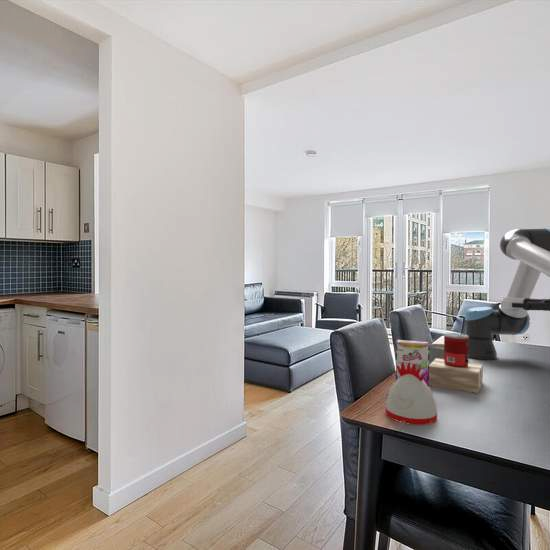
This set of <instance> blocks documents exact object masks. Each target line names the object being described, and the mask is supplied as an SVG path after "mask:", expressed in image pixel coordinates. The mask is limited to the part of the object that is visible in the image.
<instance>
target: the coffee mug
mask: <svg viewBox="0 0 550 550" xmlns="http://www.w3.org/2000/svg"><path fill="white" fill-rule="evenodd" d="M429 345H430V352H429V365H430V364H431V363H432V362H433V361H434V360H435V359H436V358H440V359H444V343H429Z"/></svg>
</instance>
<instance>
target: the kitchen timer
mask: <svg viewBox="0 0 550 550" xmlns="http://www.w3.org/2000/svg"><path fill="white" fill-rule="evenodd" d="M397 369H398V372H399V374H400V376H401V377H400V378H399V379H397V380H396V382H395V381H394V383H393V384H392V385H391V388H390V390H389V393H388V396H387V398H386V401H385V413H386V416H388V417H389V416H390V417H391V418H390V417H389V418H390V419H392V418H393V419H392V420H394V419H396V420H398V421H397V422H399V421H401V422H400V423H403V422H405V423H404V424H407V423H409V424H408V425H414V424H415V425H417V426H419V425H420V426H423V425H430V424H434V422H436V421H437V419H438V410H437V409H438V408H437V405H436V402H435V398H434V395H433V392H432V391H431V389H430V386H429V387H428V386H427V384H426V383H425V382H424V381H423V378H424V376H425V374H423V375H422V377H420V376H419V373H420V369H418V370H417V372H416V368H415V363H414V364H413V365H412V369H411V368H410V363H408V364H407V369H405V365H404V362H402V363H401V368H400V367H399V365H398V366H397ZM396 420H395V421H396Z"/></svg>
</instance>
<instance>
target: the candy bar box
mask: <svg viewBox="0 0 550 550" xmlns="http://www.w3.org/2000/svg"><path fill="white" fill-rule="evenodd" d="M395 342H396V343H395V344H396V345H395V380H394V383H395V382H396V380H397V379H399V378H400V377H401V376H400V374H399V372H398V369H397V366H398V365H399V367H400V368H401V363H402V362H404V365H405V369H407V364H408V363H410V368H411V369H412V365H413V364H414V363H415V368H416V372H417V370H418V369H420V373H419V376H420V377H422V375H423V374H425V376H424V378H423V381H424V382H425V383H426V384H427V386H428V387H429V388H430V385H429V352H430V345H429V344H430V343H429V342H428V341H420V340H419V341H418V340H406V339H405V340H404V339H396V341H395Z"/></svg>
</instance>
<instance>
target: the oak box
mask: <svg viewBox="0 0 550 550" xmlns="http://www.w3.org/2000/svg"><path fill="white" fill-rule="evenodd" d="M483 368H484V364H483V363H476V362H469V361H468V366H467V367H463V368H459V367H451V366H448V365H446V364H445V363H444V359H440V358H436V359H435V360H434V361H433V362H432V363H431V364H430V365H429V386H431V385H432V387H437V386H438V387H437V388H443V389H444V388H445V389H451V390H456V391H461V392H466V391H467V392H468V393H472V392H475V393H474V394H479V393H478V392H480V390H481V388H482V385H483V379H484V378H483V373H484V372H483V371H484V369H483Z"/></svg>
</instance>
